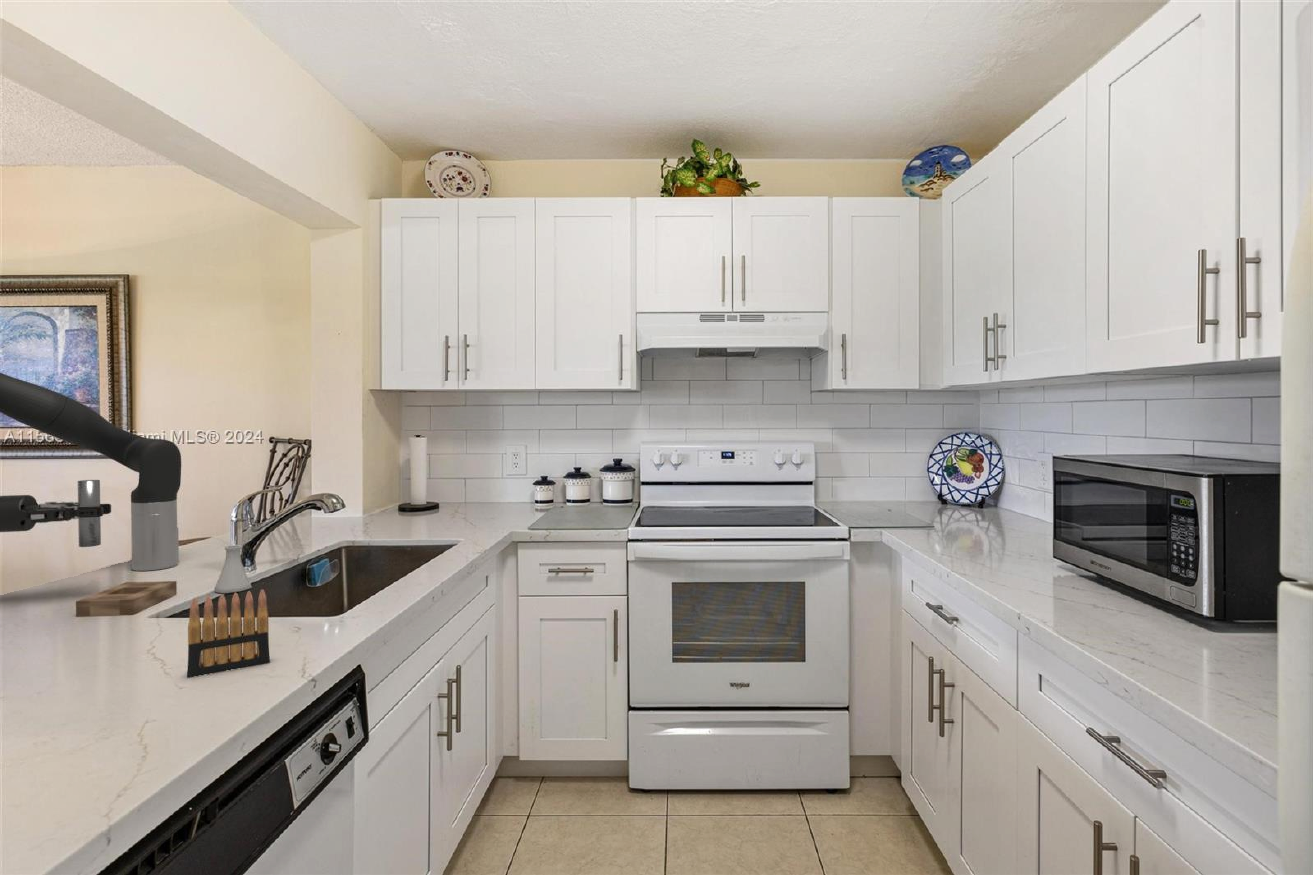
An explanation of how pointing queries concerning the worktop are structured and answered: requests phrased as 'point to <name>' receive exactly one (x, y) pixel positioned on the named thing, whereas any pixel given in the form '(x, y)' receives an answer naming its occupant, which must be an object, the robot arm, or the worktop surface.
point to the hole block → (126, 598)
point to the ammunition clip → (227, 636)
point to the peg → (89, 525)
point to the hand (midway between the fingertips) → (106, 510)
